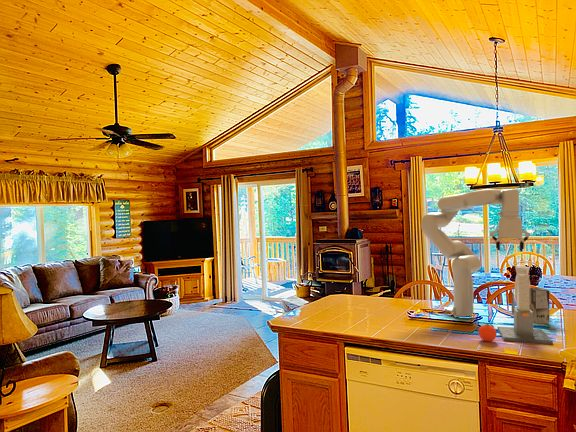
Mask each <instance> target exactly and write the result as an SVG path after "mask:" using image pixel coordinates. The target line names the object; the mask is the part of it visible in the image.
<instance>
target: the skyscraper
mask: <svg viewBox="0 0 576 432" xmlns="http://www.w3.org/2000/svg"><path fill="white" fill-rule="evenodd" d="M525 264H529V266H526V265H525ZM531 266H532V263H531V262H528V261H526V262H522V263H520V264H519V265H516V266H514V268H515V272H516V275H515V281H514V289H513V290H512V293H511V294H512V295H511V296H512V297H511V312H510V313H511V314H513V315H514V308H516V305H517V274H527V275H529V272H530V268H531ZM529 288H532V286H531V281H530V279H529ZM515 302H516V303H515Z"/></svg>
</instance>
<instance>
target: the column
mask: <svg viewBox="0 0 576 432" xmlns="http://www.w3.org/2000/svg"><path fill="white" fill-rule="evenodd" d="M516 275H517V304H516V308H517V310H518V311H524V312H530V306H529V280H530V275H529V274H528V275H527V274H517V273H516Z"/></svg>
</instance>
